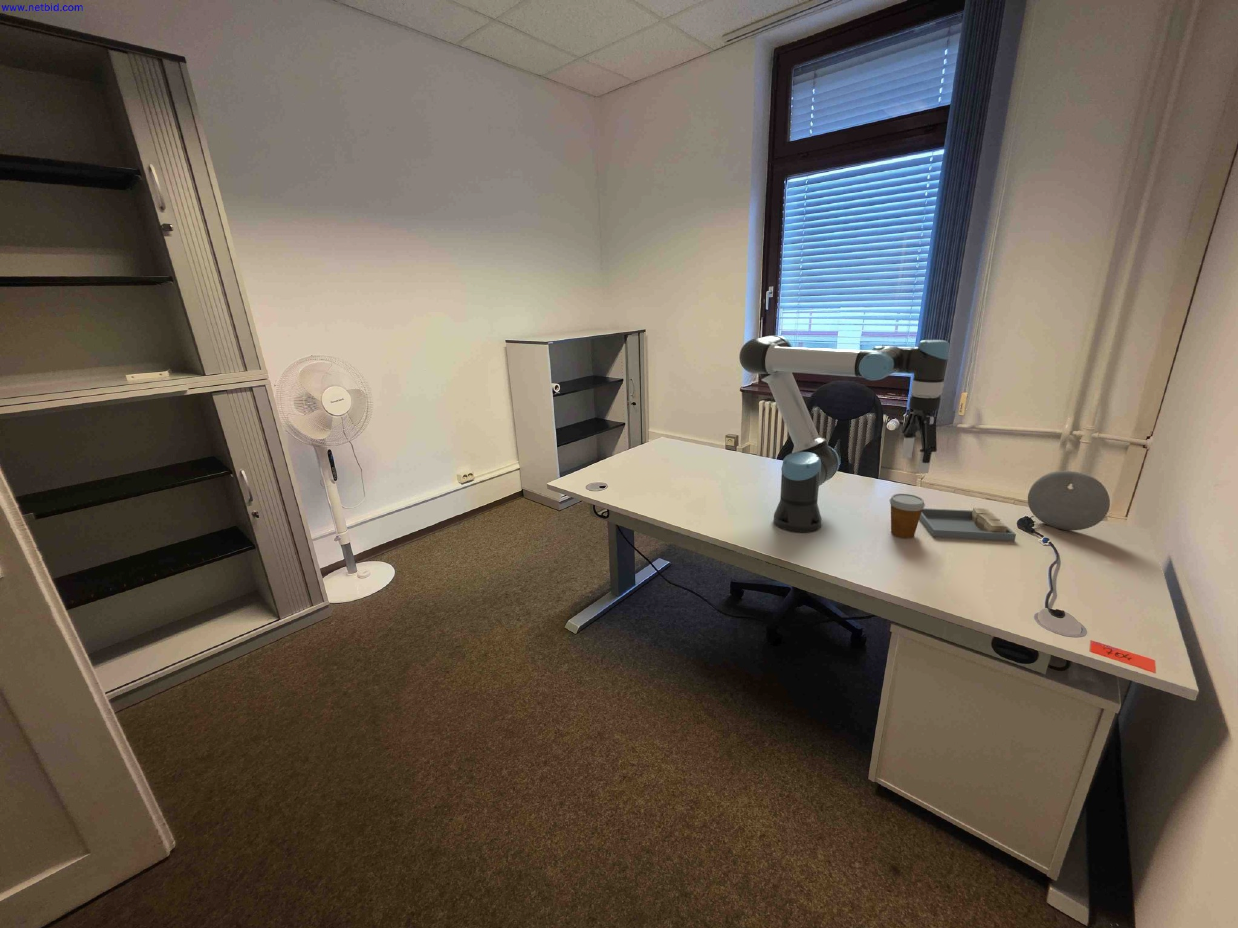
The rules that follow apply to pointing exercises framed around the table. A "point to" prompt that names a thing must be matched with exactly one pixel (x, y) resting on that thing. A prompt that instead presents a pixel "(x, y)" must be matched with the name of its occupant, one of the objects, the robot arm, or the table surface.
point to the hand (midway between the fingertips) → (914, 464)
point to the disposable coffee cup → (905, 514)
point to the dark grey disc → (1068, 500)
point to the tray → (958, 526)
